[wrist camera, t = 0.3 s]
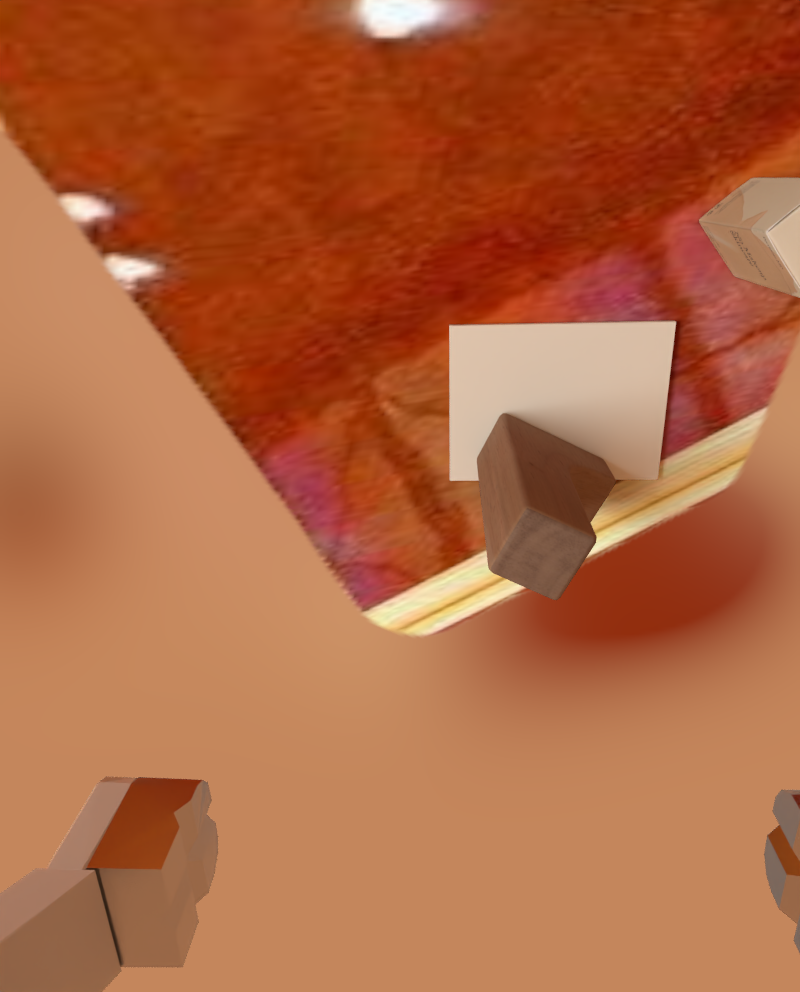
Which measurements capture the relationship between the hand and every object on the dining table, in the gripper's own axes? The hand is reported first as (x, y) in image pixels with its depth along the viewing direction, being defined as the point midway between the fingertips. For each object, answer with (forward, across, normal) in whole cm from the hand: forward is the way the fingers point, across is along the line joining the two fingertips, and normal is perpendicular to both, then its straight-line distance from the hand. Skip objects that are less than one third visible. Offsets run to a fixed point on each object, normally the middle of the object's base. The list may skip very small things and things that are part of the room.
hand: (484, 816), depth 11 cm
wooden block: (+46, -6, +11) cm, 47 cm away
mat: (+46, -8, +6) cm, 47 cm away
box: (+46, -20, -6) cm, 50 cm away
